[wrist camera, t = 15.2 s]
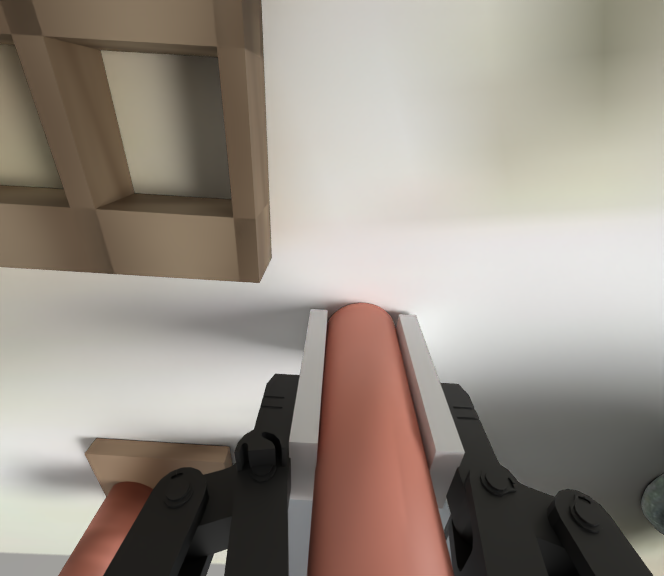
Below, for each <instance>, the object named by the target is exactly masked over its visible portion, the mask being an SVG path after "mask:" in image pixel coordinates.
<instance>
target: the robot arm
mask: <svg viewBox="0 0 664 576" xmlns="http://www.w3.org/2000/svg"><path fill="white" fill-rule="evenodd" d="M327 314H328V310H321V309H311V310H310V316H309V322H308V328H307V334H306V340H305V346H304V353H303V359H302V365H301V371H300V375H287V374H275V375H274V376H273V377H272V378H271V379H270V381H269V382H268V383H267V385H266V388H265V392H264V396H263V399H262V403H261V408H260V410H259V413H258V417H257V421H256V424H255V428H254V430H252V431H250V432H249V433H247V434H246V435H244V436H243V437H242V439H241V440H240V441H239V442H238V444H237V447H236V449H235V458H236V463H235V464H234V465H232V466H231V467H228V468H226V469H223V470H219V471H215V472H212V473H208V474H204V475H203V474H202V473H201V471H200V470H198V469H195V468H192V467H182V468H179V469H176V470H174V471H171V472H170V473H168V474H167V475H166V476H164V477H163V478H162V479H161V480H160V481H159V482H158V483H157V485H156V486H155V487H154V489H153V490H152V492H151V494H150V495H149V497H148V499H147V501H146V502H145V504H144V506H143V508H142V509H141V511H140V513H139V514H138V516H137V518H136V520H135V521H134V523H133V525H132V526H131V528H130V530H129V532H128V533H127V535H126V537H125V539H124V540H123V542H122V544H121V545H120V547H119V549H118V551H117V552H116V554H115V556H114V557H113V559H112V561H111V563H110V564H109V566H108V568H107V569H106V571H105V573H104V575H103V576H206V574H207V572H208V569H209V566H210V563H211V561H212V558H213V555H214V553H217V552H220V551H223V550H226V549H228V550H227V558H226V566H225V574H224V576H289V542H288V507H289V500H290V499H294V500H311V501H313V490H314V477H315V468H316V463H317V450H318V437H319V423H320V410H321V397H322V384H323V371H324V357H325V344H326V331H327ZM396 333H397V337H398V341H399V346H400V350H401V354H402V358H403V362H404V366H405V371H406V375H407V379H408V383H409V387H410V392H411V396H412V400H413V404H414V408H415V413H416V417H417V421H418V425H419V429H420V434H421V438H422V442H423V446H424V450H425V455H426V459H427V463H428V467H429V471H430V475H431V480H432V484H433V488H434V492H435V496H436V501H437V505H438V508H442V509H443V506H444V504H445V501H446V499H447V502H448V505H449V509H450V513H451V515H450V517H449V519H448V522H447V524H446V526H445V529H444V534H445V538H446V540H447V538H448V536H449V542H450V551H451V560H452V568H453V572H454V576H653V574H652V573H651V572H650V570H649V569H648V568H647V566H646V565H645V563H644V562H643V561H642V559H641V558H640V557H639V555H638V554H637V552H636V551H635V550H634V548H633V547H632V546H631V544H630V543H629V541H628V540H627V539H626V537H625V536H624V535H623V533H622V532H621V530H620V529H619V528H618V526H617V525H616V524H615V522H614V521H613V519H612V518H611V517H610V515H609V514H608V513H607V512H606V511H605V510H604V509H603V508H602V506H601V505H600V504H598V503H597V502H596V501H594V500H593V499H592V498H590V497H589V496H587V495H585V494H583V493H581V492H579V491H576V490H570V489H565V490H562V491H559V492H558V494H557V495H556V497H554V496H551V495H548V494H545V493H543V492H540V491H537V490H534V489H532V488H529V487H527V486H525V485H523V484H520V483H519V482H517V480H516V478H515V477H514V476H513V475H512V474H511V473H510V472H509V471H508V470H507V469H506V468H504V467H503V466H501V465H500V464H499V462H498V460H497V458H496V456H495V454H494V452H493V449H492V447H491V445H490V442H489V440H488V438H487V436H486V433H485V431H484V429H483V427H482V424H481V422H480V421H479V417H478V415H477V413H476V411H475V410H474V406H473V404H472V402H471V399H470V397H469V395H468V394H467V393H466V392H465V391H464V390H463V389H462V387H461V386H460V385H459V384H449V383H440V381H439V378H438V376H437V373H436V370H435V367H434V364H433V361H432V359H431V356H430V353H429V350H428V347H427V345H426V342H425V339H424V336H423V333H422V331H421V328H420V325H419V322H418V319H417V316H416V315H404V314H399V317H398V322H397V328H396Z"/></svg>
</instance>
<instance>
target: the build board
mask: <svg viewBox="0 0 664 576" xmlns="http://www.w3.org/2000/svg"><path fill="white" fill-rule="evenodd" d="M0 44H8V45H15V47H16V50H17V53H18V56H19V59H20V62H21V65H22V68H23V71H24V74H25V76H26V79H27V82H28V85H29V88H30V91H31V94H32V97H33V100H34V103H35V106H36V109H37V112H38V115H39V118H40V121H41V123H42V126H43V129H44V132H45V135H46V138H47V141H48V144H49V147H50V150H51V153H52V156H53V159H54V162H55V165H56V167H57V170H58V173H59V176H60V179H61V182H62V185H63V188H64V189H53V188H37V187H21V186H4V185H0V267H10V268H26V269H42V270H59V271H75V272H91V273H107V274H123V275H139V276H156V277H172V278H188V279H204V280H220V281H236V282H253V283H260V281H261V279H262V277H263V275H264V273H265V271H266V268H267V266H268V264H269V262H270V260H271V258H272V254H271V229H270V205H269V180H268V155H267V131H266V106H265V81H264V57H263V32H262V7H261V0H0ZM100 50H107V51H124V52H140V53H157V54H174V55H190V56H207V57H218V63H219V73H220V84H221V94H222V104H223V115H224V125H225V136H226V146H227V156H228V167H229V177H230V187H231V198H232V199H216V198H200V197H184V196H167V195H151V194H135V193H134V189H133V185H132V181H131V177H130V173H129V168H128V164H127V160H126V156H125V152H124V147H123V143H122V139H121V135H120V131H119V127H118V122H117V118H116V114H115V110H114V106H113V101H112V97H111V93H110V89H109V85H108V81H107V76H106V72H105V68H104V64H103V60H102V55H101V51H100Z"/></svg>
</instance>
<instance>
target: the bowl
mask: <svg viewBox="0 0 664 576" xmlns="http://www.w3.org/2000/svg"><path fill="white" fill-rule="evenodd" d="M641 505H642V511H643V513H644V516H645V517H646V518H647V519H648V520H649V521H650V523H651V524H652V525H653V526H654V527H655V528H656V529H657V530H658V531H659V532H660V533H662V534H663V535H664V473H663V474H662V475H660V476H659V477H657V478H656V479H655V480H654V481H653V482H651V483H650V484H649V485H648V486H647V488H646V490H645V492H644V494H643V497H642V501H641Z"/></svg>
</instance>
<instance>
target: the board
mask: <svg viewBox="0 0 664 576" xmlns="http://www.w3.org/2000/svg"><path fill="white" fill-rule="evenodd" d="M85 456H86V458H87V460H88V462H89V464H90V466H91V468H92V470H93V472H94V474H95V476H96V477H97V479H98V481H99V483H100V485H101V487H102V489H103V491H104V493H105V495H106V498H105V500H104V502H103V503H102V505H101V507H100V508H99V510H98V512H97V513H96V515H95V516H94V518H93V520H92V521H91V523H90V525H89V526H88V528H87V530H86V531H85V533H84V534H83V536H82V538H81V539H80V541H79V543H78V544H77V546H76V547H75V549H74V551H73V552H72V554H71V556H70V557H69V559H68V561H67V562H66V564H65V565H64V567H63V569H62V571H61V572H60V574H59V575H58V576H103V575H104V573H105V571H106V569H107V568H108V566H109V564H110V563H111V561H112V559H113V557H114V556H115V554H116V552H117V551H118V549H119V547H120V545H121V544H122V542H123V540H124V539H125V537H126V535H127V533H128V532H129V530H130V528H131V526H132V525H133V523H134V521H135V520H136V518H137V516H138V514H139V513H140V511H141V509H142V508H143V506H144V504H145V502H146V501H147V499H148V497H149V495H150V494H151V492H152V490H153V489H154V487H155V486H156V485H157V483H158V482H159V481H160V480H161V479H162V478H163V477H164V476H166V475H167V474H168V473H170V472H171V471H174V470H176V469H179V468H182V467H192V468H195V469H198V470H200V471H201V473H202V474H203V475H204V474H208V473H212V472H215V471H219V470H223V469H226V468H228V467H231V466H232V460H231V453H230V447H227V446H211V445H195V444H179V443H164V442H148V441H132V440H116V439H100V438H96V439H95V441H94V442H93V443H92V444H91V446H90V447H89V448H88V450H87V451H86V452H85Z"/></svg>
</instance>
